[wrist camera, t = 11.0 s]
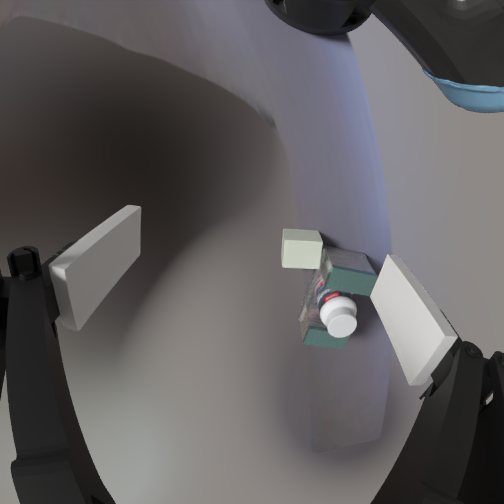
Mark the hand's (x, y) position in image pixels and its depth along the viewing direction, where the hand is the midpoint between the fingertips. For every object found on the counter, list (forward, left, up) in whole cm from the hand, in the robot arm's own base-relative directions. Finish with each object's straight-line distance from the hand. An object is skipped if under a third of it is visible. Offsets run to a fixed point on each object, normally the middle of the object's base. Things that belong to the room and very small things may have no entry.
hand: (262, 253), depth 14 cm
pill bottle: (+15, +13, -24) cm, 31 cm away
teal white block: (+15, +13, -25) cm, 32 cm away
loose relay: (+9, +7, -25) cm, 27 cm away
